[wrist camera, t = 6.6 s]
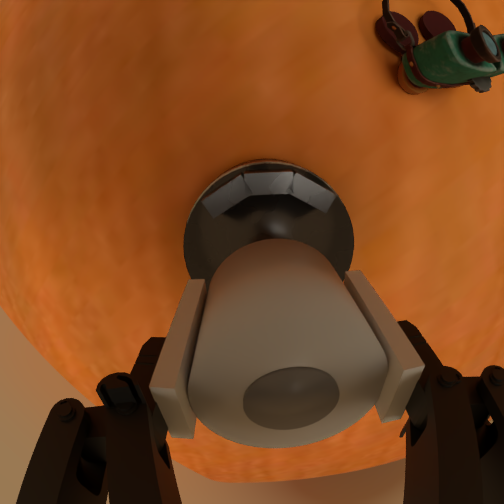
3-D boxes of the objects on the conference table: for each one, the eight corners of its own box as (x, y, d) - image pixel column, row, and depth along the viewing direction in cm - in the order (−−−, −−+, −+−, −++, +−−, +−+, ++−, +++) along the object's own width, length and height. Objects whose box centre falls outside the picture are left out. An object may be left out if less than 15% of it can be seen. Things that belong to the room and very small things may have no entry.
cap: (199, 243, 13) (165, 327, 7) (344, 234, 13) (411, 308, 7) (216, 355, 15) (205, 454, 9) (334, 347, 15) (367, 438, 9)
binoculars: (488, -47, 4) (557, 83, 7) (427, 0, 14) (472, 96, 17) (391, -71, 6) (487, 87, 8) (346, 4, 16) (398, 112, 18)
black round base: (185, 163, 20) (164, 173, 15) (340, 156, 20) (368, 164, 15) (202, 298, 24) (191, 339, 19) (334, 291, 24) (352, 330, 19)
